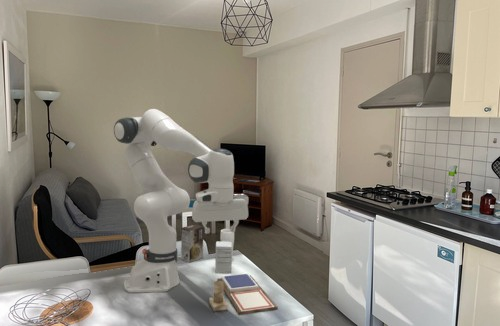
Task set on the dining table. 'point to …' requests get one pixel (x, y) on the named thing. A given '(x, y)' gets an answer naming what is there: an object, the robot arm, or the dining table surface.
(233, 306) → the stamping board
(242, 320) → the dining table surface
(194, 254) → the coffee box
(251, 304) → the sheet
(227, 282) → the ink pad
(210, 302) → the wooden stamp
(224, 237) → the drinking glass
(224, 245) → the supplement box
